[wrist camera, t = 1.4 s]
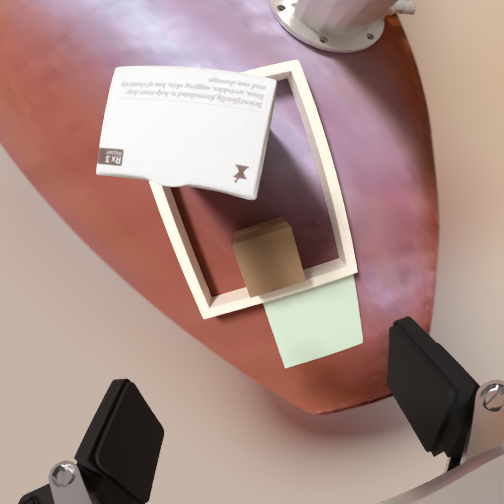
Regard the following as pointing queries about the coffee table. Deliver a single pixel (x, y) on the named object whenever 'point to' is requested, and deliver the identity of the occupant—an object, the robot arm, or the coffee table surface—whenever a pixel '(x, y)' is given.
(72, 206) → the coffee table surface
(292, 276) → the walnut block
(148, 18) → the coffee table surface
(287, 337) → the tile
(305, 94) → the cream rectangular frame
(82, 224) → the coffee table surface
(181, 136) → the skincare box
